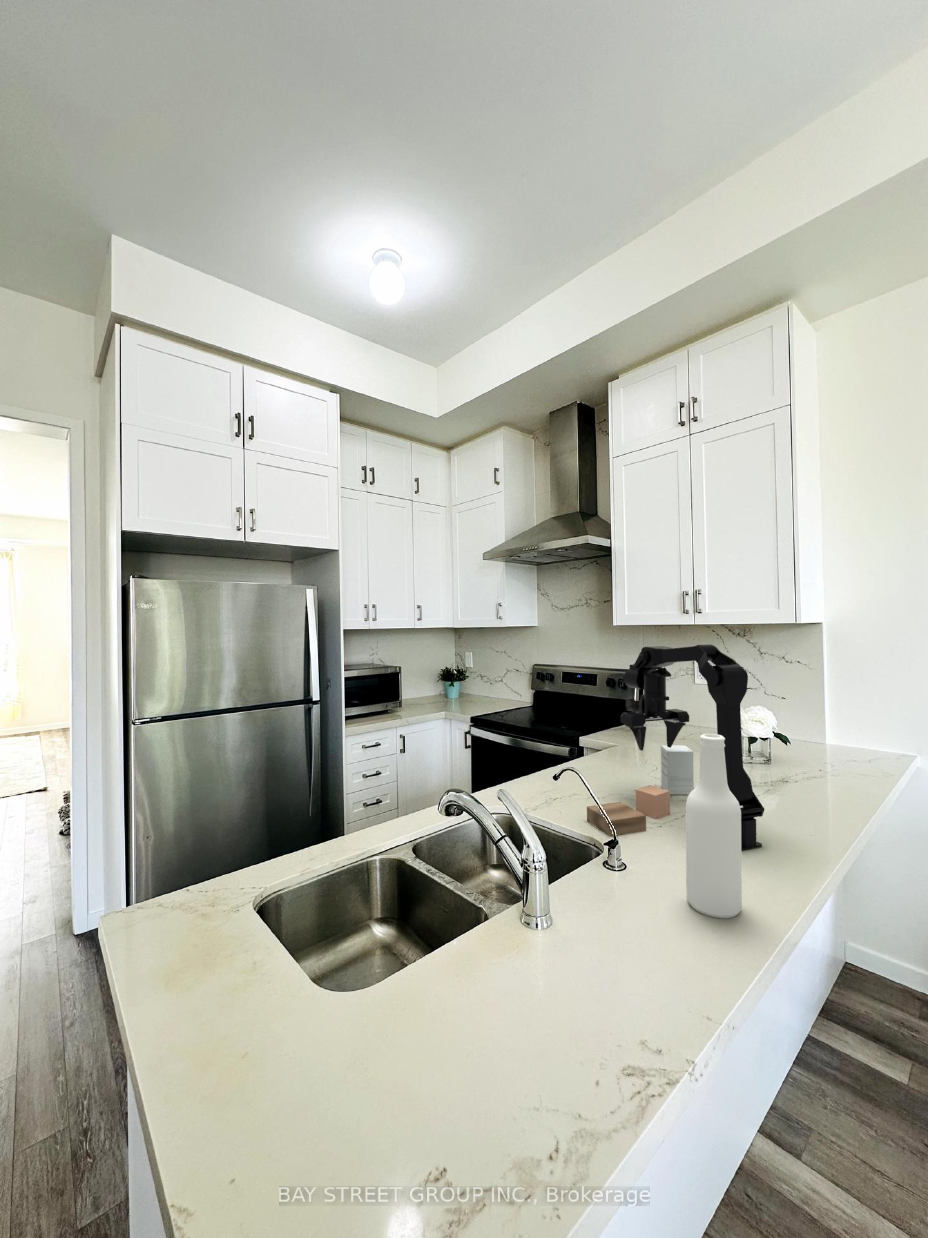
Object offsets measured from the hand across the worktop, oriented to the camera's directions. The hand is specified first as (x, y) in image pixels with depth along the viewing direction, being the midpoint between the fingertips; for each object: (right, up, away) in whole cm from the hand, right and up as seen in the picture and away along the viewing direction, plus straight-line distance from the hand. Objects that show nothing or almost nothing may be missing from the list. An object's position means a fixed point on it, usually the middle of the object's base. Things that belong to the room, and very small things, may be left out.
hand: (655, 748), depth 146 cm
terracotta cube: (-4, -15, -8) cm, 17 cm away
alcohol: (-9, -15, -52) cm, 55 cm away
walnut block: (-16, -15, -16) cm, 27 cm away
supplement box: (+10, -15, +9) cm, 20 cm away
